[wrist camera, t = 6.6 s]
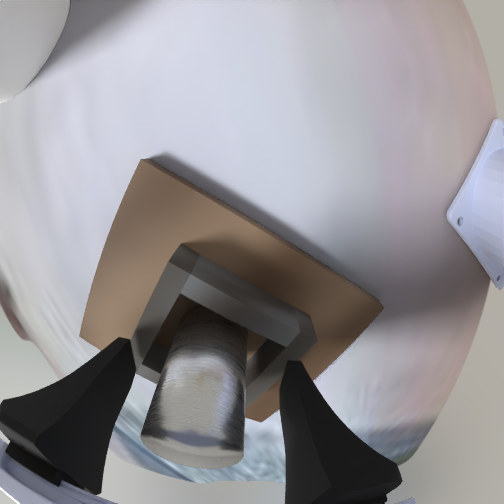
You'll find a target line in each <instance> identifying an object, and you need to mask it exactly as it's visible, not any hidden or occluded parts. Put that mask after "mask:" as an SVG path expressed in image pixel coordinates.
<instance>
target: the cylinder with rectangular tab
mask: <svg viewBox="0 0 504 504" xmlns="http://www.w3.org/2000/svg"><path fill="white" fill-rule="evenodd" d="M69 7H70V0H0V103H4V102H6V101H8V100H11V99H13V98H14V97H15V96H17V95H18V94H19V93H20V92H22V91H23V90H24V89H25V88H26V87H27V85H28V84H29V83H30V82H31V81H32V80H33V79H34V78H35V76H36V75H37V74H38V72H39V71H40V69H41V68H42V66H43V65H44V64H45V62H46V61H47V59H48V57H49V56H50V54H51V52H52V50H53V49H54V47H55V45H56V44H57V42H58V39H59V37H60V35H61V33H62V31H63V28H64V26H65V23H66V19H67V16H68V13H69Z"/></svg>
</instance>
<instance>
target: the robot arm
mask: <svg viewBox="0 0 504 504" xmlns="http://www.w3.org/2000/svg"><path fill="white" fill-rule="evenodd" d="M458 219H459V222H458V223H457V221H458ZM447 220H448V222H449V223H450V224H451V225H452V227H453V228H454V229H455V230H456V231H457V233H458V234H459V235H460V237H461V238H462V239H463V240H464V242H465V243H466V244H467V246H468V247H469V248H470V250H471V251H472V252H473V254H474V255H475V256H476V258H477V259H478V261H479V262H480V263H481V265H482V266H483V268H484V269H485V271H486V272H487V274H488V275H489V277H490V278H491V280H492V281H493V283H494V285H495V286H496V287H497V288H498V289H499V290H500V289H502V288H503V287H504V123H503V121H502V120H501V119H499V118H496V119H494V120H493V123H492V125H491V128H490V130H489V132H488V135H487V137H486V139H485V141H484V144H483V146H482V148H481V150H480V152H479V154H478V156H477V158H476V160H475V162H474V164H473V166H472V168H471V170H470V172H469V174H468V176H467V178H466V180H465V182H464V183H463V185H462V187H461V189H460V191H459V192H458V194H457V196H456V197H455V199H454V201H453V203H452V204H451V206H450V208H449V209H448V211H447ZM135 372H136V365H135V361H134V356H133V351H132V346H131V341H130V339H127V338H122V337H118V338H117V339H115V340H114V341H113V342H112V343H110V344H109V345H108V346H107V347H105V348H104V349H103V350H102V351H101V352H99V353H98V354H97V355H96V356H94V357H93V358H92V359H90V360H89V361H88V362H87V363H85V364H84V365H82V366H81V367H80V368H78V369H77V370H75V371H74V372H72V373H71V374H69V375H68V376H66V377H64V378H63V379H61V380H59V381H57V382H55V383H53V384H51V385H49V386H47V387H45V388H42V389H40V390H38V391H35V392H32V393H29V394H26V395H23V396H20V397H15V398H11V399H6V400H3V401H2V403H1V404H0V430H1V431H2V432H3V434H4V435H5V436H6V437H7V438H8V439H9V440H10V443H9V445H8V444H7V443H6V442H4V441H3V440H2V439H1V438H0V489H1V490H2V491H3V492H5V493H6V494H7V495H8V496H9V497H11V498H12V499H13V500H14V501H16V502H17V503H18V504H117V503H114V502H111V501H109V500H106V499H103V498H101V497H98V496H96V495H98V494H100V493H101V489H102V480H103V479H102V478H103V471H104V466H105V460H106V455H107V451H108V446H109V442H110V438H111V435H112V431H113V428H114V425H115V422H116V420H117V418H118V415H119V413H120V411H121V409H122V406H123V404H124V402H125V400H126V397H127V395H128V393H129V391H130V388H131V386H132V382H133V379H134V376H135ZM279 408H280V415H281V423H282V430H283V437H284V444H285V454H286V491H285V504H385V503H384V502H386V501H387V497H386V494H388V493H389V492H390V491H392V490H394V489H395V488H397V487H398V486H399V485H400V484H401V482H402V478H401V474H400V471H399V469H398V466H397V464H396V463H394V462H393V461H391V460H389V459H388V458H386V457H384V456H382V455H381V454H379V453H378V452H376V451H375V450H374V449H372V448H371V447H369V446H368V445H367V444H366V443H364V442H363V441H362V440H361V439H360V438H359V437H357V436H356V435H355V434H354V433H353V432H352V431H351V430H350V429H349V428H348V427H347V426H346V425H345V424H344V423H343V422H342V421H341V420H340V419H339V417H338V416H337V415H336V414H335V413H334V411H333V410H332V409H331V407H330V406H329V405H328V403H327V402H326V401H325V399H324V398H323V396H322V395H321V393H320V392H319V390H318V389H317V387H316V386H315V384H314V382H313V381H312V379H311V377H310V376H309V374H308V372H307V370H306V368H305V367H304V365H303V363H302V362H301V361H293V360H287V364H286V367H285V371H284V374H283V378H282V381H281V384H280V388H279ZM79 488H80V489H79ZM88 492H89V493H88ZM395 504H416V503H415V499H414V498H410V499H407V500H404V501H401V502H398V503H395Z"/></svg>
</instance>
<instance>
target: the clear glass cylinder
mask: <svg viewBox="0 0 504 504" xmlns="http://www.w3.org/2000/svg"><path fill="white" fill-rule="evenodd" d="M247 340H248V331H247V328H245V327H243V326H241V325H239V324H237V323H235V322H233V321H231V320H229V319H227V318H226V317H224V316H222V315H220V314H218V313H216V312H214V311H212V310H210V309H208V308H206V307H205V306H203V305H201V304H200V305H197V306H194V307H192V308H191V309H189V310H188V311H187V312H185V314H184V315H183V317H182V318H181V321H180V323H179V326H178V329H177V331H176V334H175V337H174V339H173V342H172V345H171V348H170V350H169V353H168V356H167V358H166V361H165V364H164V367H163V370H162V372H161V375H160V378H159V381H158V384H157V387H156V390H155V393H154V395H153V398H152V401H151V404H150V407H149V410H148V413H147V416H146V419H145V423H144V426H143V429H142V432H141V440H142V442H143V443H144V445H145V446H146V447H147V448H148V449H150V450H151V451H152V452H154V453H155V454H157V455H159V456H160V457H162V458H164V459H167V460H169V461H172V462H174V463H178V464H181V465H185V466H190V467H196V468H207V469H214V468H224V467H229V466H232V465H235V464H237V463H238V462H240V461H241V460H242V458H243V456H244V429H245V398H246V369H247Z"/></svg>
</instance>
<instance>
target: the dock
mask: <svg viewBox="0 0 504 504" xmlns="http://www.w3.org/2000/svg"><path fill="white" fill-rule="evenodd" d="M200 304H201V305H203V306H205V307H206V308H208V309H210V310H212V311H214V312H216V313H218V314H220V315H222V316H224V317H226V318H227V319H229V320H231V321H233V322H235V323H237V324H239V325H241V326H243V327H245V328H247V331H248V340H247V369H246V398H245V418H249V419H252V420H255V421H258V422H263V421H264V420H265V419H267V418H268V417H269V416H271V415H272V414H273V413H275V412H276V411H277V410H278V409H280V408H279V388H280V384H281V381H282V378H283V374H284V371H285V367H286V364H287V360H293V361H301V362H302V363H303V365H304V367H305V368H306V370H307V372H308V374H309V376H310V377H311V379H312V381H313V380H314V379H315V378H316V377H317V376H318V375H320V374H321V373H322V372H323V371H324V370H325V369H326V368H327V367H328V366H329V365H330V364H331V363H332V362H333V361H334V360H336V359H337V358H338V357H339V356H340V355H341V354H342V353H343V352H344V351H345V350H346V349H347V348H348V347H349V346H350V345H351V344H352V343H353V342H354V341H355V339H356V338H357V337H358V336H359V335H360V334H361V333H362V332H363V331H364V330H365V329H366V328H367V327H368V326H369V325H370V323H371V322H372V321H373V320H374V319H375V318H376V317H377V316H378V315H379V313H380V312H381V311H382V310H383V309H384V307H383V306H382V304H381V303H380V301H379V300H377V299H376V298H374V297H373V296H371V295H370V294H368V293H367V292H365V291H364V290H362V289H361V288H359V287H358V286H356V285H355V284H353V283H352V282H350V281H349V280H347V279H346V278H344V277H343V276H341V275H339V274H338V273H336V272H335V271H333V270H332V269H330V268H329V267H327V266H325V265H324V264H322V263H321V262H319V261H318V260H316V259H315V258H313V257H311V256H310V255H308V254H307V253H305V252H303V251H302V250H300V249H299V248H297V247H296V246H294V245H292V244H291V243H289V242H288V241H286V240H284V239H283V238H281V237H280V236H278V235H276V234H275V233H273V232H271V231H270V230H268V229H267V228H265V227H263V226H262V225H260V224H258V223H257V222H255V221H254V220H252V219H250V218H249V217H247V216H245V215H244V214H242V213H240V212H239V211H237V210H235V209H234V208H232V207H230V206H229V205H227V204H225V203H224V202H222V201H220V200H219V199H217V198H215V197H214V196H212V195H210V194H208V193H207V192H205V191H203V190H202V189H200V188H198V187H197V186H195V185H193V184H191V183H190V182H188V181H186V180H184V179H183V178H181V177H179V176H178V175H176V174H174V173H172V172H171V171H169V170H167V169H165V168H164V167H162V166H160V165H158V164H156V163H155V162H153V161H151V160H149V159H148V158H147V159H141V160H140V162H139V164H138V166H137V168H136V170H135V172H134V175H133V177H132V179H131V181H130V183H129V185H128V188H127V190H126V192H125V194H124V197H123V199H122V201H121V204H120V206H119V209H118V211H117V214H116V216H115V219H114V221H113V224H112V226H111V229H110V232H109V234H108V237H107V240H106V243H105V246H104V248H103V251H102V254H101V257H100V260H99V263H98V267H97V270H96V273H95V276H94V280H93V283H92V286H91V290H90V294H89V297H88V301H87V305H86V309H85V313H84V317H83V321H82V326H81V330H80V335H79V337H81V338H82V339H84V340H85V341H87V342H89V343H90V344H92V345H93V346H95V347H96V348H98V349H99V350H101V351H102V350H103V349H104V348H105V347H107V346H108V345H109V344H110V343H112V342H113V341H114V340H115V339H117V338H118V337H122V338H127V339H130V341H131V346H132V351H133V356H134V361H135V365H136V372H135V373H136V374H138V375H140V376H142V377H144V378H146V379H148V380H150V381H152V382H154V383H156V384H158V381H159V378H160V375H161V372H162V370H163V367H164V364H165V361H166V358H167V356H168V353H169V350H170V348H171V345H172V342H173V339H174V337H175V334H176V331H177V329H178V326H179V323H180V321H181V318H182V317H183V315H184V314H185V312H187V311H188V310H189V309H191V308H192V307H194V306H197V305H200Z"/></svg>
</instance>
